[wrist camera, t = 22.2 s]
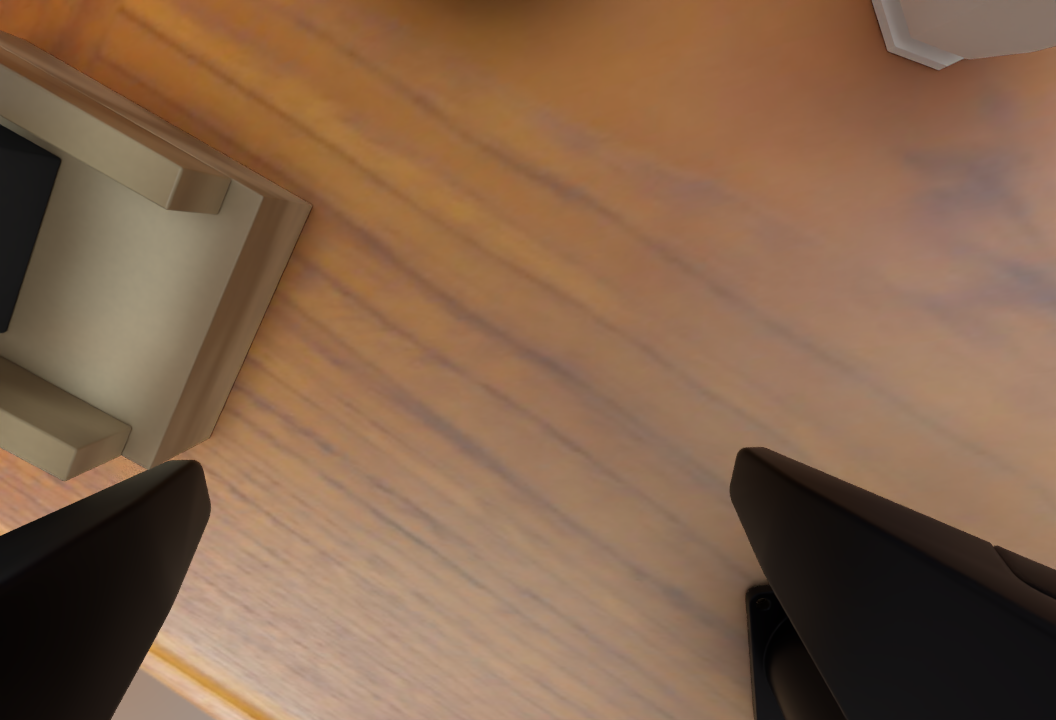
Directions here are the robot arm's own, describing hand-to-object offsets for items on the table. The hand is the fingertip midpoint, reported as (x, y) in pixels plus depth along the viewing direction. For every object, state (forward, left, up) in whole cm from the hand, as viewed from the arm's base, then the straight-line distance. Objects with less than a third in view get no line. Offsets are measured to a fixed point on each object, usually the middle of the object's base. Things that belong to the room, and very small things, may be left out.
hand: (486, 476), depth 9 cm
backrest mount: (+6, +14, -10) cm, 18 cm away
